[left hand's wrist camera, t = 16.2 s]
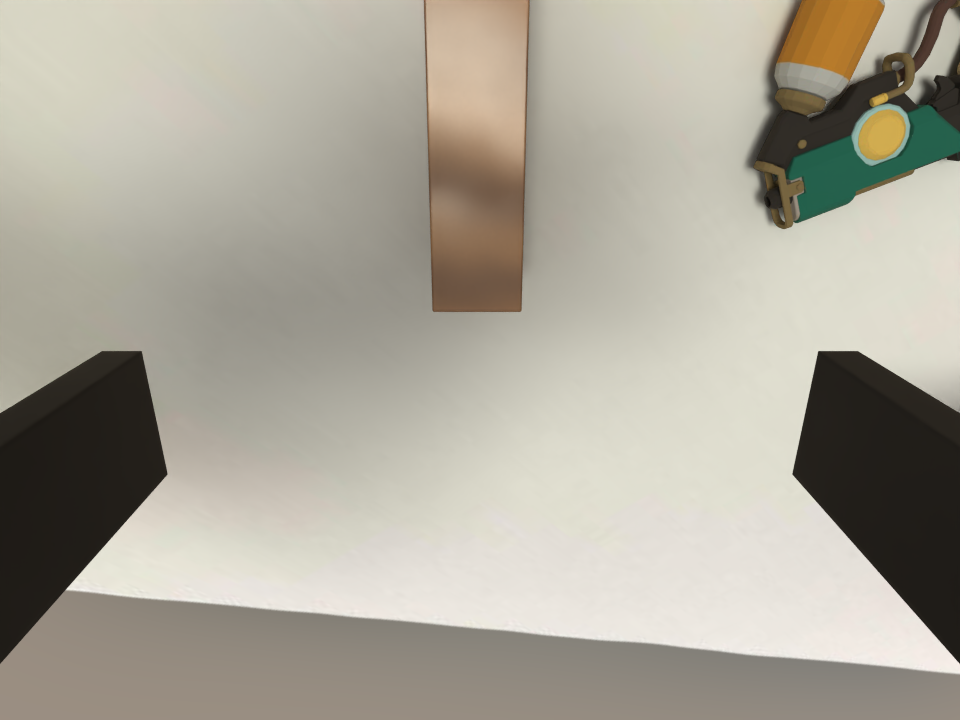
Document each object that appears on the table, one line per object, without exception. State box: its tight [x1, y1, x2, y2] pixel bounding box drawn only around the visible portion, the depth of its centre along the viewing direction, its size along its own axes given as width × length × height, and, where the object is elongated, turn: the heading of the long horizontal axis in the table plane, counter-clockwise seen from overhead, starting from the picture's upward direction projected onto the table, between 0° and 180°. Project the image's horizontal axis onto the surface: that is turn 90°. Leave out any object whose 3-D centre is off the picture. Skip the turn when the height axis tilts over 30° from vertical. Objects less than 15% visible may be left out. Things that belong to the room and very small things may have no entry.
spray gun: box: [753, 0, 960, 229], centre depth 37 cm, size 4×17×15 cm
